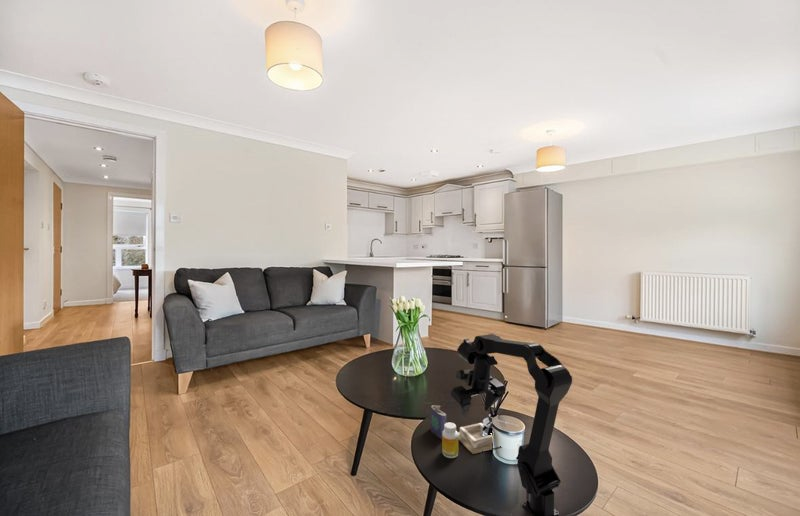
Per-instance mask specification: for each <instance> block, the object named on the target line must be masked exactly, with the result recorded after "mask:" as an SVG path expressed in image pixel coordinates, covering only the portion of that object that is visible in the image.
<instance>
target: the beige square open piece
mask: <svg viewBox="0 0 800 516" xmlns="http://www.w3.org/2000/svg"><path fill="white" fill-rule="evenodd" d="M483 425H484V423H482V422H478V423H473V424H470V425H469V424H468V425H465V426H460V427H459V431H457V432H458V441H460V443H462V445H463V446H464V447H465V448H466V449H467V450H468V451H469V452H470V453H471V454H472V455H474V454H479V453H483V452H487V451H490V450H493V449H492V433H490V434H491V435H487V436H483V437H482V430H483ZM482 451H483V452H482Z"/></svg>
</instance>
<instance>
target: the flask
mask: <svg viewBox="0 0 800 516" xmlns="http://www.w3.org/2000/svg"><path fill="white" fill-rule="evenodd" d="M445 423H447V413H445V412H444V411H442V410H441V405H437V404H436V405H435V404H433V405H431V406H430V432H431V433H432V434H433V435H435V436H436V437H437V438H439V439H440V440H442V432H443V430H444V424H445Z"/></svg>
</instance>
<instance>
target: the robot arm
mask: <svg viewBox="0 0 800 516" xmlns="http://www.w3.org/2000/svg"><path fill="white" fill-rule="evenodd" d="M456 352H457V355H458V356H459V357H460V358H462V359H463V360H464V361H465V362H467V363H468V364H470V365H473V367H472V369H471V368H469V369H468V368H467V369H464V370H463V369H456V374H455V378H456V379H457V380H458V381H461V382H465V384H466V385H467V387H470V388H469V389H466V388H465V387H464V386H463V385H459V386H455V387H452V388H451V390H450V396H451V398H453V400H455V401H456V402H457V403H458V404H459V406H460V410H461V413H462V417H464V418H466V417H467V415H468V413H469V411H470V408H471V406H472V403H471V402H472V397H474V396H479V395H483V394H485V400H484V410H485V411H486V412H488V411H489V410H490V409H491V408H492V407H493V405H494V404H495V403H496V402H497V401H498V400H499V399H500V398H502V397H503V395H506V391H507V390H506V389H507V388H506V386H505V384H503V383H502V382H500V381H499V380H498V379H497V378H496V377H495V378H494V377H493V376H492V375H491V374H492V367H493V366H497V365H498V364H499V362H498V361H497V360H496V359H495V356H494V355H490V354H500V355H506V356H512V357H517V358H523V359H524V361H525V362H526V366H527V371H528V373H529V374H530V376H531V377H532V379H533V380H534V390H535V392H536V394H537V396H538V398H537V402H536V408H535V412H534V417H533V422H532V426H531V432H530V435H529V440H528V442H526V443H524V444H521V445H519V447H518V448H517V449H518V450H517V452H518V453H517V456H516V458H515V459H516V460H517V464H516V465H517V469H518V474H519V478H520V483H521V486H522V487H523V488H524V489H525V491H526V500H525V501H523V502H522V505H523V507H524V508H525V509H526V510H527V511H528V512H529V513H530V514H531V515H532V516H557V515H558V516H559V514H560V513H559V511H558V510H557V509H556V508H555V492H554V490H555V489H556V488H559V487H560V485H561V482H562V481H561V478H560V477H559V475H558V473H557V472H556V470H555V468H554V466H553V457H552V455H551V452H550V445H551V440H552V437H553V436H552V435H553V431H554V428H555V423H556V418H557V413H558V410H559V409H558V408H559V405H560V403H561V401H562V400H563V399H564V398H565V396H566V395H567V394H568V392H570V391H569V390H570V388H571V386H572V384H573V376H572V374H570V371H569V370H568V369H567V368H566V367H565V366H564V365H563V364H562V363H561V361H560V360H559V359H558V358H557V357H555V355H552V354H551V353H549V352H548V351H547V350H546V349H545V348H544V347H543V346H542V344H541V343H537V342H532V343H531V342H526V341H525V342H524V341H517V340H511V339H510V340H509V339H503V338H501V337H500V336H499V335H496V334H493V333H490V334H482V335H476V336H475V337H474V340H473V341H472V340H470V338H466V339H465V338H464V339H463V341H462V342H461V343H460V344H459V346H458V347H457V350H456ZM537 361H539V362H540V363H541V364H544V365H545V366H546V367H542V368H541V367H540V366H539V364H538V362H537Z"/></svg>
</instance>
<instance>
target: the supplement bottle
mask: <svg viewBox="0 0 800 516" xmlns="http://www.w3.org/2000/svg"><path fill="white" fill-rule="evenodd" d="M458 432H459V431H457V425H456V424H455V423H454V422H446V423H445V424H444V430H443V432H442V439H441V440H442V442H441V447H442V449H441V451H442V455H443V456H444V457H445V458H448V459H454V458H457V457H458V455H459V439H458Z"/></svg>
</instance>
